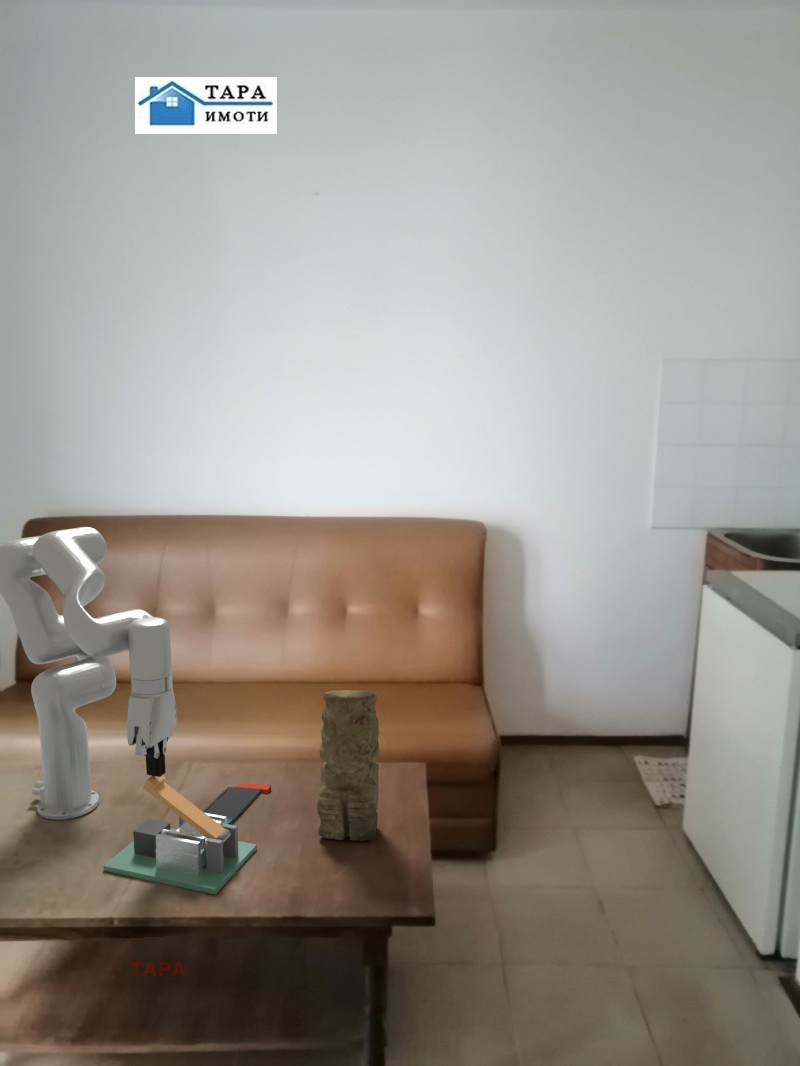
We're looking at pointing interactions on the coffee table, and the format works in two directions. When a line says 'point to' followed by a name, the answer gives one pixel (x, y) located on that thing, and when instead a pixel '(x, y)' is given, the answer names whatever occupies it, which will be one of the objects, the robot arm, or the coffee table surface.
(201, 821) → the tan long bar
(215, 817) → the heat sink
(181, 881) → the board
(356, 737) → the sculpture
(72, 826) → the coffee table surface
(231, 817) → the gaming console
